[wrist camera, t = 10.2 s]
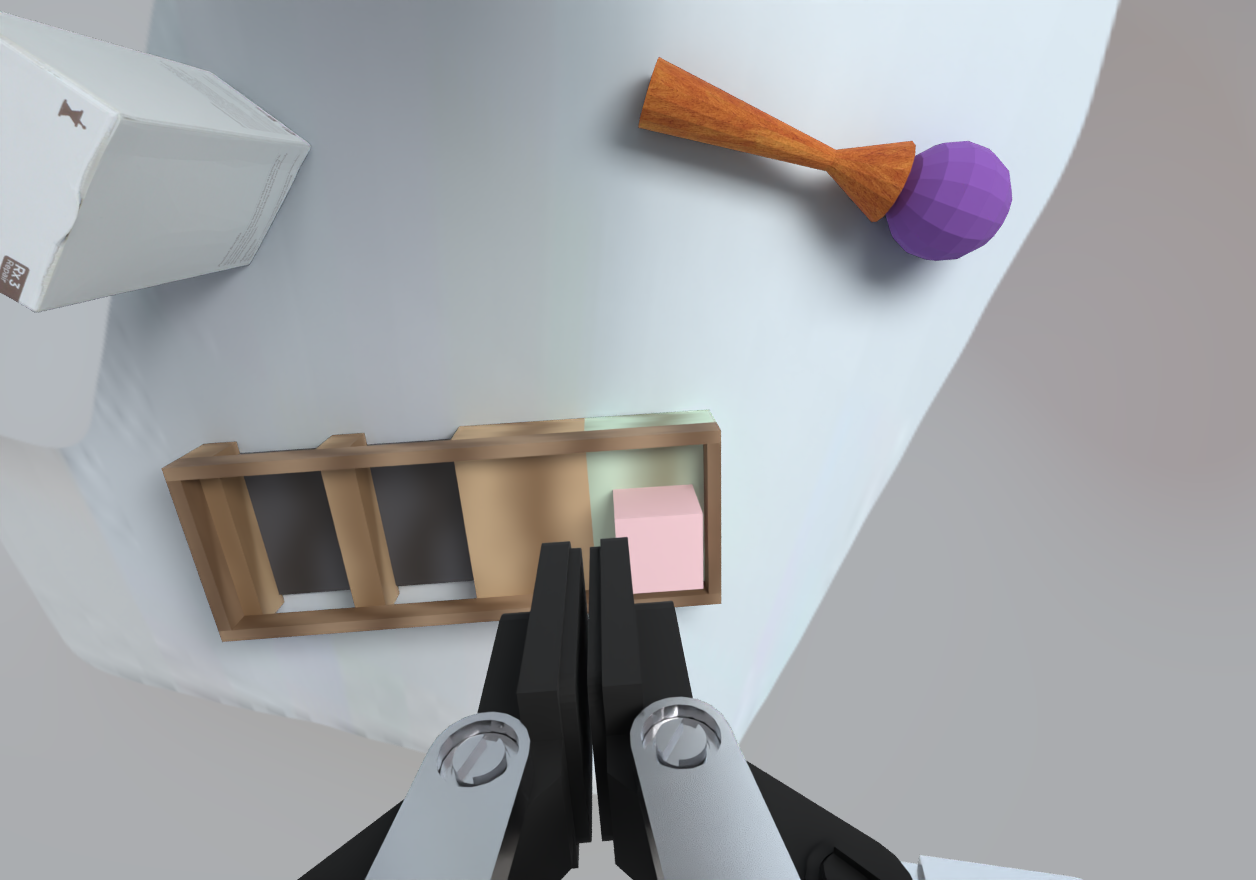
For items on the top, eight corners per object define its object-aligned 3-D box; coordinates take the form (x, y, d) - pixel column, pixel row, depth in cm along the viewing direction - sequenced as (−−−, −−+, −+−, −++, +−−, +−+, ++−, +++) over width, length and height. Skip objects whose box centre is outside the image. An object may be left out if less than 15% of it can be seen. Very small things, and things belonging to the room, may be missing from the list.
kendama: (673, 1, 28) (1058, 148, 30) (661, 61, 34) (983, 181, 36) (632, 130, 29) (1010, 267, 31) (628, 167, 35) (945, 280, 36)
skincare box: (214, 72, 31) (-88, -42, 18) (321, 150, 33) (122, 102, 19) (148, 209, 34) (-169, 206, 20) (252, 277, 35) (26, 319, 21)
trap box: (255, 604, 42) (222, 641, 39) (204, 443, 38) (161, 468, 35) (710, 570, 43) (721, 603, 40) (708, 409, 39) (720, 430, 35)
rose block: (612, 489, 38) (614, 519, 34) (692, 484, 38) (702, 513, 34) (617, 558, 40) (619, 594, 36) (693, 553, 40) (703, 588, 36)
